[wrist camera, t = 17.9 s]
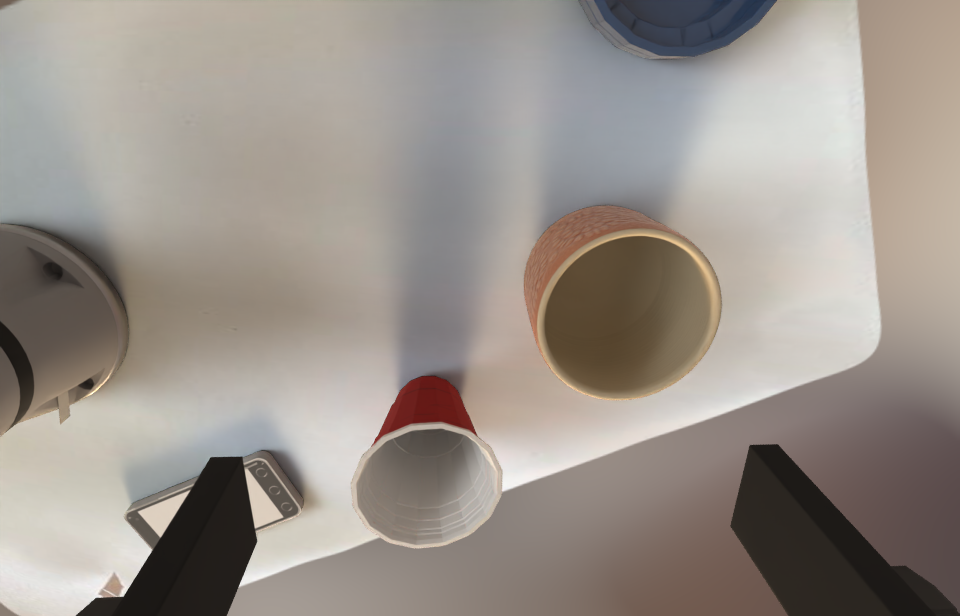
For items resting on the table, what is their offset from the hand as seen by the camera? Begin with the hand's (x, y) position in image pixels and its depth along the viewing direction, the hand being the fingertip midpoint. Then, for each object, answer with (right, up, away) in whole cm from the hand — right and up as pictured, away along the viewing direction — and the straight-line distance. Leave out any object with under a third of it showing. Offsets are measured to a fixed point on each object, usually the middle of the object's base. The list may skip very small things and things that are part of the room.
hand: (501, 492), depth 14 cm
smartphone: (-26, -14, +38) cm, 48 cm away
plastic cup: (-5, -4, +36) cm, 36 cm away
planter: (+8, +8, +32) cm, 34 cm away
